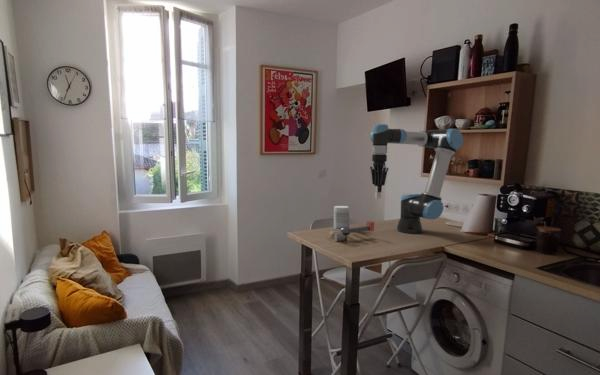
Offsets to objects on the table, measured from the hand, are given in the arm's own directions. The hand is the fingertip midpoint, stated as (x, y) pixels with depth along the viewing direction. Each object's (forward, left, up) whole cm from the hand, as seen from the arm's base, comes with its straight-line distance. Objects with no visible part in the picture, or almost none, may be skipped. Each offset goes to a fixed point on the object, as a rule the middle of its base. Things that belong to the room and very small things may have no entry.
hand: (377, 198), depth 187 cm
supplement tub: (-1, -32, -25) cm, 40 cm away
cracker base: (+11, -6, -24) cm, 27 cm away
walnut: (+18, -14, -23) cm, 32 cm away
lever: (+9, -7, -23) cm, 26 cm away
